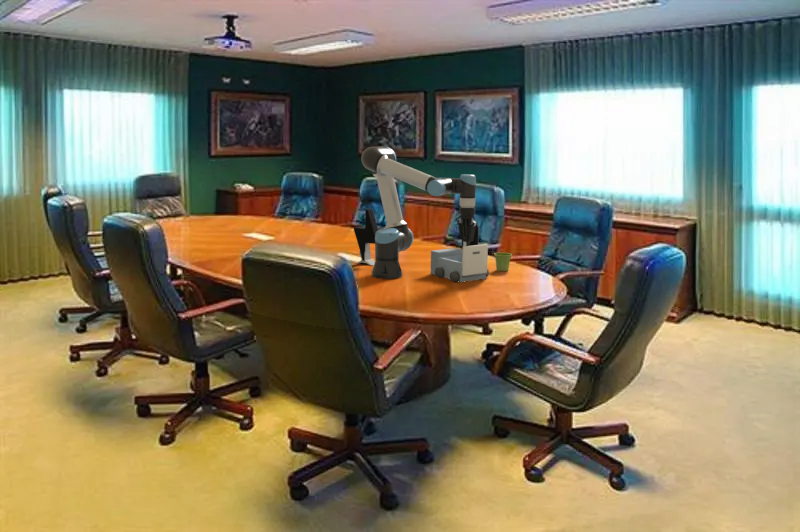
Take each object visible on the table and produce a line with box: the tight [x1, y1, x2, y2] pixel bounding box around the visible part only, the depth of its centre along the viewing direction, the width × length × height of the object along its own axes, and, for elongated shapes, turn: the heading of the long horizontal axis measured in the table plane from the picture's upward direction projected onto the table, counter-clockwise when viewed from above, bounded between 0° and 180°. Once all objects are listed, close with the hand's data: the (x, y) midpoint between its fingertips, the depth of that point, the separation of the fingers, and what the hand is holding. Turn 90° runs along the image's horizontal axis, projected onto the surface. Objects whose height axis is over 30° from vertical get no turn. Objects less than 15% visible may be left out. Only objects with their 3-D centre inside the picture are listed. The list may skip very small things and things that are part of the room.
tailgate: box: [462, 243, 489, 278], centre depth 341 cm, size 15×1×15 cm, turn 124°
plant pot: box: [493, 252, 513, 272], centre depth 369 cm, size 9×9×9 cm
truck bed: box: [430, 247, 490, 283], centre depth 352 cm, size 21×24×12 cm
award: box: [353, 208, 379, 266], centre depth 381 cm, size 15×5×30 cm, turn 58°
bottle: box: [461, 215, 480, 250], centre depth 374 cm, size 9×9×28 cm
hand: (466, 254), depth 346 cm, fingers closed
